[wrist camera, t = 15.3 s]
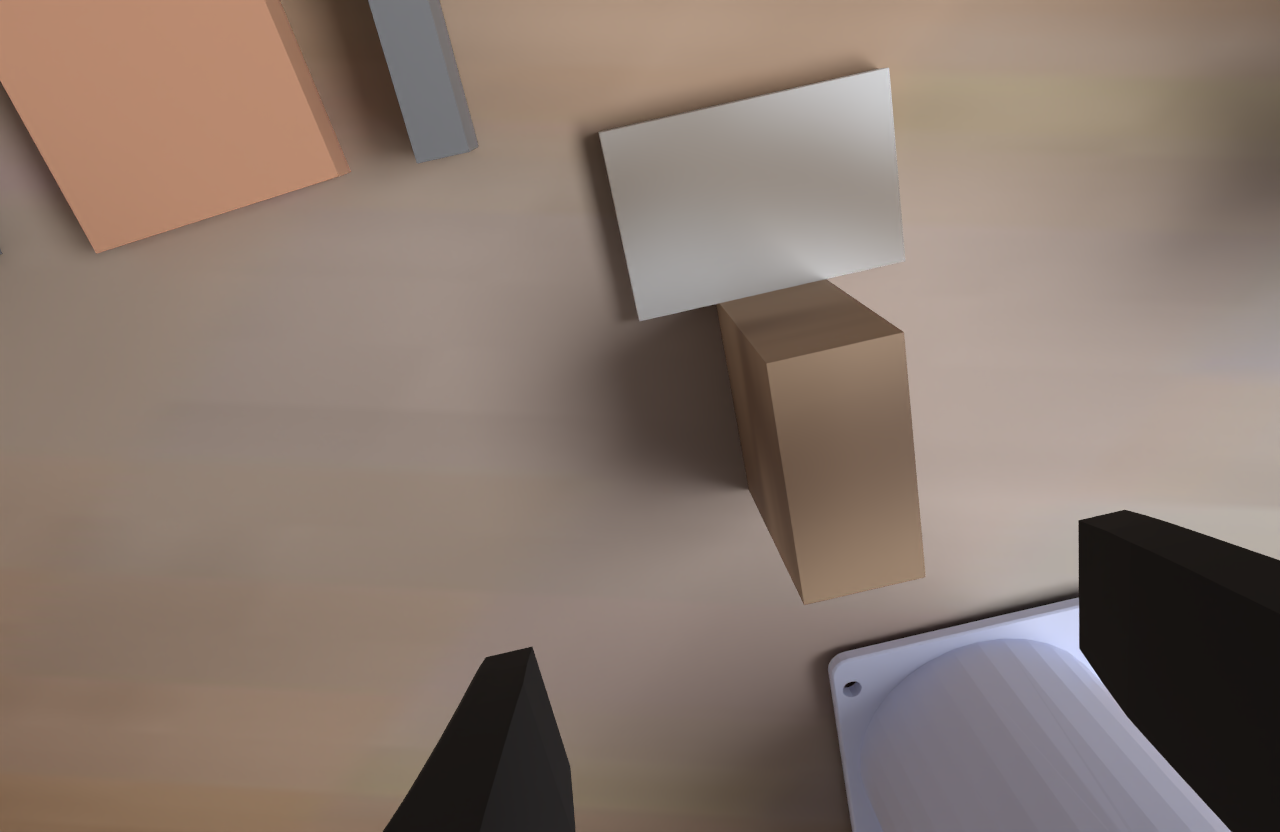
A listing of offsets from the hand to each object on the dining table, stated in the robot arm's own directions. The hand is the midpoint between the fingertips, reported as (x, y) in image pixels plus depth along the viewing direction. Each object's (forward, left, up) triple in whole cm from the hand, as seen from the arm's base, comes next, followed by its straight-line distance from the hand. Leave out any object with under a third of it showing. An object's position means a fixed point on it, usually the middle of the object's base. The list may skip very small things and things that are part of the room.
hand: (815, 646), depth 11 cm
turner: (+2, -2, -10) cm, 10 cm away
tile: (+9, +9, -10) cm, 16 cm away
